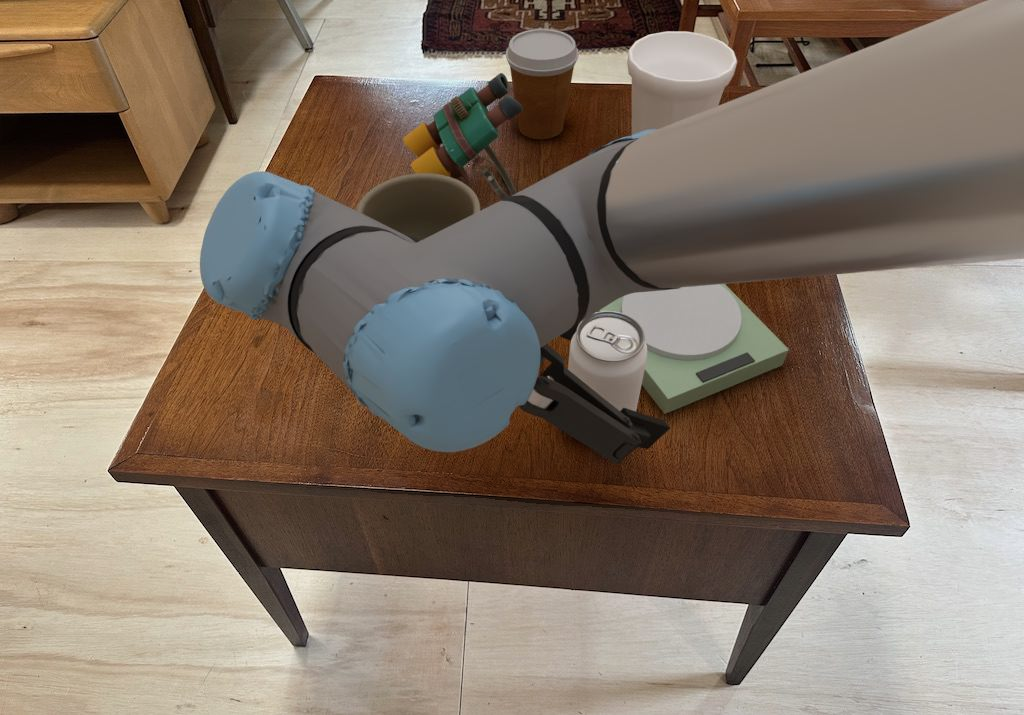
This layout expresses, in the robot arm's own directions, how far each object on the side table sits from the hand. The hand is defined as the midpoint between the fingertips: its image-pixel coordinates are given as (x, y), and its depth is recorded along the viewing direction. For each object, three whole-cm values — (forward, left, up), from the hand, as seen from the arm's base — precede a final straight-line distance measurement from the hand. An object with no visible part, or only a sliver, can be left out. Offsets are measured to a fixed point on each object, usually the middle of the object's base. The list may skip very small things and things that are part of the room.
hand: (614, 378), depth 63 cm
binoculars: (+37, -1, -6) cm, 37 cm away
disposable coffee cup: (+48, -17, -6) cm, 51 cm away
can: (0, +1, -6) cm, 6 cm away
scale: (+6, -12, -6) cm, 14 cm away
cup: (+32, -27, -6) cm, 42 cm away
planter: (+24, +9, -6) cm, 26 cm away
